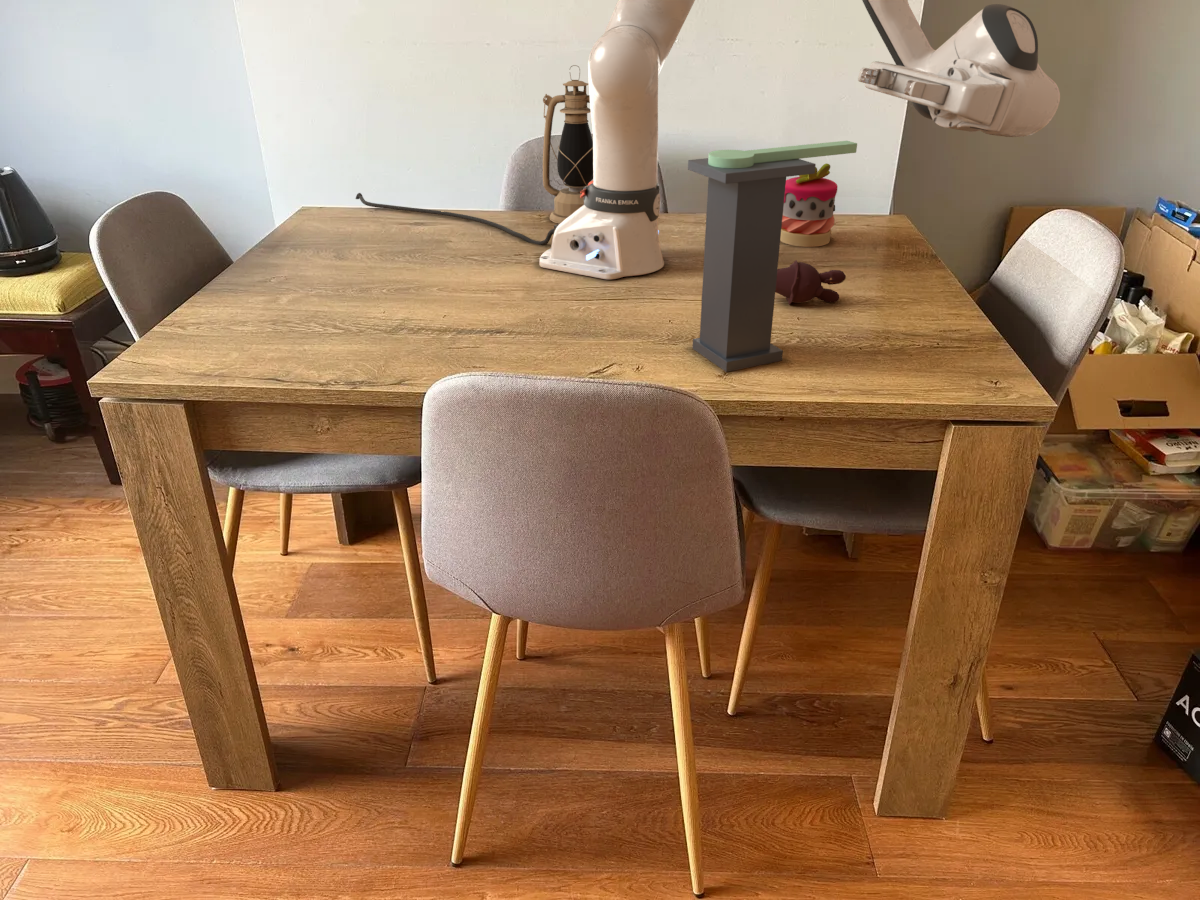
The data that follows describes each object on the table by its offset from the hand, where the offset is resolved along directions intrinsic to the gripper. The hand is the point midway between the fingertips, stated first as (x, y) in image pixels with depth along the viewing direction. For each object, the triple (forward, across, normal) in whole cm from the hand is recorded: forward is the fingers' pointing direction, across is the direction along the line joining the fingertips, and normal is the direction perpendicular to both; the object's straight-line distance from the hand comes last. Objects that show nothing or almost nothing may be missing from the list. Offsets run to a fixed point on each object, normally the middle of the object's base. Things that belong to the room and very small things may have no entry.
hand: (884, 81), depth 115 cm
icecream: (-5, -11, +35) cm, 37 cm away
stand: (+14, +4, +37) cm, 40 cm away
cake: (-28, -40, +33) cm, 59 cm away
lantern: (+6, -74, +41) cm, 85 cm away
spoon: (+14, +2, +11) cm, 17 cm away
